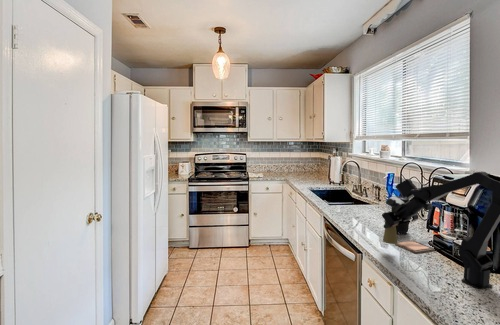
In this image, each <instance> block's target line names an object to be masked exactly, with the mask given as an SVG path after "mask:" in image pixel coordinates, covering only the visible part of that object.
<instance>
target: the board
mask: <svg viewBox="0 0 500 325" xmlns="http://www.w3.org/2000/svg"><path fill="white" fill-rule="evenodd" d="M431 240H432V239H430V238H421V239H413V240H407V241H406V240H405V241H400V242H398V243H397V244H394V245H395V246H397V247H400V248H402V249H404V250H407V251H409V252H410V253H411V252H412V253H413V254H417V255H418V254H423V253H428V252H435V251H434V250H435V249H434V247H432V246H430V245H429V244H428V242H429V241H431Z"/></svg>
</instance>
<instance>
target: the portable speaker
mask: <svg viewBox="0 0 500 325" xmlns="http://www.w3.org/2000/svg"><path fill="white" fill-rule="evenodd" d="M393 197H397V198H399V199H400V200H402V201H403V202H404V203H406V202H408V201H409V200H410V199H408V198H404V197H403V196H402V195H400V196H399V195H395V196H393ZM394 209H395V208H393V207H392V206H391V210H390V211H391V212H393V213H394V214H395V213H396V212H395V211H394ZM409 228H410V223H406V224H402V225H398V226H396V232H397V234H399V235H407V233H408V232H409Z"/></svg>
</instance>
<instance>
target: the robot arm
mask: <svg viewBox="0 0 500 325" xmlns="http://www.w3.org/2000/svg"><path fill="white" fill-rule="evenodd" d="M476 185H480V186H481V187H483V188H484V189H487V190H489V191H492V192H491V203H490V205H489V206H488V208H487V209H486V211H485V213H484V215H483V217H482V219H481V221H480V223H479V224H478V225H477V228H476V229H475V231H474V232H473V235H472V236H468V237H465V238H462V240H461V242H460V245H459V246H458V247H457V250H458V251H457V254H458V255H459V258H460V260H461V261H462V264H463V279H461V282H463V283H465V284H467V285H469V286H470V287H473V288H475V289H478V290H484V289H489V288H491V287H493V285H492V284H491V283H490V280H491V279H490V277H491V276H490V275H491V270H490V269H489V268H491V267H492V266H493V264H494V261H493V260H492V259H491V258H490V256H488V254H487V251H488V243H489V240H490V239H491V237H492V235H493V233H494V231H495V230H496V229H497V226H498V225H499V223H500V176H499V175H494V174H491V173H488V172H486V171H476V172H473V173H472V174H468V175H465V176H462V177H460V178H456V179H453V180H451V181H448V182H447V181H446V182H444V183H441V184H433V185H429V186H422V187H420V188H418V187H417V186H416V185H415V183H413V181H412V180H411V179H410V178H405V180H403V181H402V182H399V183H398V184H396V185H395V189H396V190H397V192H398V193H399V194H400V196H401V197H404V198H408V199H409V201H408V202H406V203H404V202H403V201H402V200H400V199H399V198H397V197H394V196H391V197H388V199H386V204H387V205H388V206H389V207H391V208H392V207H393V208H395V209H394V211H395V212H396V213H395V214H394V213H393V212H391V210H388V211H384V212H383V213H382V214H381V216H382V218H383V219H384V220H385V221H386V222H384V225H383V228H384V229H385V228H389V227H394V226H398V225H402V224H406V223H409V224H410V223H411V222H416V221H417V220H419V212H421V211H422V210H425V211H430V210H433V209H432V208H433V207H432V203H431V201H436V200H439V199H442V198H443V197H445V196H447V195H448V194H449V193H452V192H453V193H454V192H457V191H459V190H464V189H467V188H469V187H472V186H476Z"/></svg>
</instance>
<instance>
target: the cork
mask: <svg viewBox="0 0 500 325" xmlns="http://www.w3.org/2000/svg"><path fill="white" fill-rule="evenodd" d="M385 222H386V221H385V219H384V223H385ZM397 234H398V232H396V226H394V227H389V228H384V232H383V238H382V241H383V243H386V244H390V245H395V244H397V243H398V235H397Z"/></svg>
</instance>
